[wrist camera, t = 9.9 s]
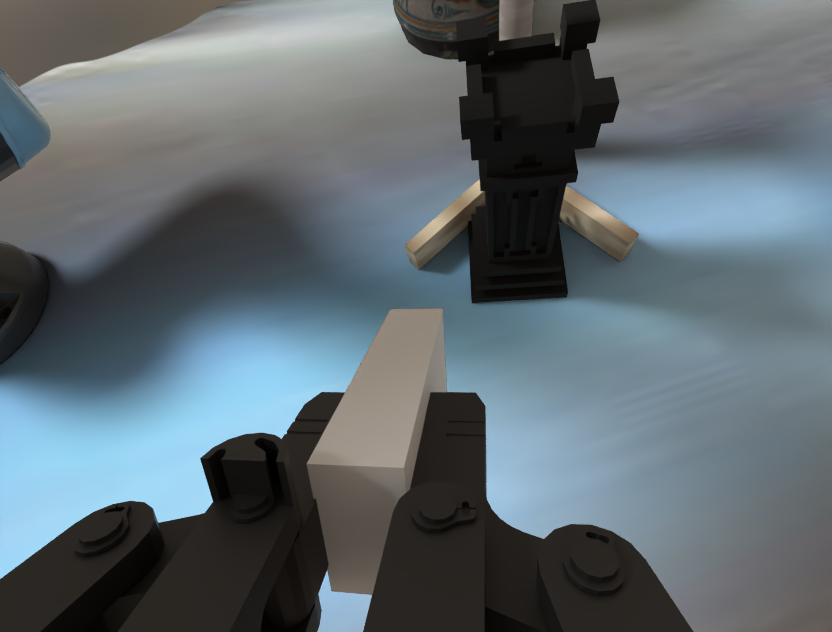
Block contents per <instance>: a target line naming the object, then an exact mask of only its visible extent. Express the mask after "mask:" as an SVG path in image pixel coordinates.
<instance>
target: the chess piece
mask: <svg viewBox="0 0 832 632" xmlns="http://www.w3.org/2000/svg"><path fill="white" fill-rule="evenodd" d="M599 23H600V17H599V13H598V9H597V4H596V0H589V1H583V2H576V3H570V4H563V10H562V18H561V25H560V28H561V37H560V44H559V46H555V38H554V33H549V34H542V35H536V36H529V37H522V38H515V39H508V40H501V41H495V42H494V55H489V56H488V36H487V24H486V17H480V18H473V19H467V20H460V21H456V34H457V50H458V62H461V61H466V74H467V92H468V96H462V97H459V101H460V123H461V134H462V140H465V139H470V144H471V158H472V161H473V160H479V176H480V192H481V191H485V206H477V207H476V214H472V221H468V234H469V255H470V276H471V297H472V303H479V302H495V301H511V300H527V299H543V298H559V297H567V294H568V290H567V283H566V275H565V268H564V261H563V254H562V247H561V240H560V233H559V226H558V221H559V216H560V212H561V207H562V203H563V198H564V193H565V189H566V184H567V183H572V182H576V180H577V175H578V170H577V164H576V158H575V152H574V149H584V148H593V147H595V144H596V141H597V137H598V133H599V130H600V126H601V124H603V123H612V122H613V121H614V118H615V114H616V111H617V108H618V104H619V98H618V94H617V90H616V86H615V81H614V77H608V78H600V79H595V77H594V72H593V67H592V63H591V58H590V53H589V49H586V48H587V44H588V43H595V42H596V37H597V33H598V28H599Z"/></svg>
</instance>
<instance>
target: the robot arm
mask: <svg viewBox="0 0 832 632" xmlns="http://www.w3.org/2000/svg"><path fill="white" fill-rule="evenodd" d="M50 136H51V135H50V129H49V126H48V124H47V122H46V121H45V119H44V118H43V117H42V115H41V114H40V113H39V111H38V110H37V109H36V108H35V106H34V105H33V104H32V103H31V101H30V100H29V99H28V98H27V97H26V95H25V94H24V93H23V92H22V91H21V90H20V88H19V87H18V86H17V85H16V84H15V83H14V81H13V80H12V79H11V78H10V77H9V76H8V75H7V73H6V72H5V71H4V70H3V69H2V68H1V67H0V181H2V180H3V179H5V178H6V177H8V176H9V175H11V174H12V173H14V172H15V171H17V170H19V169H22V168H23V167H25V163H26V162H27V161H29V160H30V159H31V158H33V157H34V156H35V155H36V154H38V153H39V152H40V151H41V150H43V149H44V148H45V147H46V146H47V145H48V143H49V140H50ZM47 293H48V278H47V274H46V271H45V268H44V266H43V265H42V263H41V262H40V261H39V260H38V259H37V258H36V257H34V256H33V255H31V254H29V253H27V252H26V251H24V250H22V249H20V248H18V247H16V246H14V245H12V244H9V243H7V242H2V241H0V363H1V362H2V361H4V360H5V359H6V358H8V357H9V356H10V355H11V354H12V353H13V352H14V351H15V350H16V349H17V348H18V347H19V346H20V345H21V344H22V343H23V342H24V341H25V339H26V338H27V337H28V335H29V334H30V333H31V331H32V330H33V328H34V327H35V325H36V323H37V322H38V320H39V318H40V316H41V313H42V311H43V308H44V306H45V302H46V298H47ZM200 459H201V462H202V466H203V469H204V472H205V476H206V479H207V482H208V486H209V489H210V492H211V496H212V499H213V503H212V504H211V506H210V507H209V508H208V510H207V511H206V512H205V513H203V514H200V515H196V516H191V517H186V518H181V519H176V520H171V521H166V522H161V523H158V521H157V519H156V516H155V513H154V510H153V508H152V507H150V506H149V505H147V504H146V503H144V502H136V501H127V502H122V503H117V504H112V505H110V506H107V507H105V508H102V509H100V510H98V511H95V512H93V513H91V514H90V515H88V516H86V517H85V518H83V519H82V520H80V521H78V522H77V523H75V524H74V525H72V526H71V527H70V528H68V529H67V530H66V531H64V532H63V533H62V534H60V535H59V536H58V537H56V538H55V539H54V540H52V541H51V542H50V543H48V544H47V545H45V546H44V547H43V548H41V549H40V550H39V551H37V552H36V553H35V554H33V555H32V556H31V557H29V558H28V559H27V560H25V561H24V562H23V563H21V564H20V565H19V566H17V567H16V568H15V569H13V570H12V571H11V572H9V573H8V574H7V575H5V576H4V577H3V578H1V579H0V632H317V631H318V628H319V625H320V618H321V611H322V610H321V605H320V601H319V596H318V593H319V590H320V588H321V585H322V582H323V579H324V577H325V574H326V571H328V576H329V581H330V586H331V591H335V592H346V593H358V594H370V595H372V598H371V602H370V606H369V610H368V614H367V619H366V623H365V627H364V631H363V632H693V631H692V629H691V628H690V626H689V625H688V623H687V622H686V620H685V619H684V617H683V616H682V614H681V613H680V611H679V609H678V608H677V606H676V605H675V603H674V602H673V600H672V599H671V597H670V596H669V594H668V593H667V591H666V590H665V588H664V587H663V585H662V584H661V582H660V581H659V579H658V578H657V576H656V575H655V573H654V572H653V570H652V569H651V567H650V566H649V564H648V563H647V561H646V560H645V558H644V557H643V556H642V555H641V554H640V553H639V552H638V551H637V550H636V549H635V548H634V546H633V545H632V544H631V543H629V542H628V541H626V540H625V539H623V538H621V537H620V536H618V535H617V534H615V533H613V532H612V531H609V530H606V529H603V528H599V527H596V526H593V525H579V524H570V525H567V526H564V527H561V528H558V529H555V530H553V531H552V532H551V533H550V534H549V535H548V536H547V537H546V538H545V539H542V538H539V537H536V536H533V535H530V534H527V533H524V532H522V531H520V530H518V529H515V528H513V527H511V526H510V525H508V524H507V523H505V522H504V521H503V520H501V519H500V518H499V517H498V516H497V515H496V514H495V513H494V511H493V510H492V509H491V507H490V505H489V503H488V501H487V497H486V416H485V405H484V403H483V402H482V401H481V399H480V398H479V397H478V395H477V394H476V393H462V392H447V381H446V362H445V343H444V324H443V308H432V309H390V311H389V312H388V314H387V316H386V318H385V320H384V322H383V324H382V325H381V327H380V329H379V331H378V333H377V335H376V337H375V338H374V340H373V342H372V344H371V346H370V348H369V349H368V351H367V353H366V355H365V357H364V359H363V361H362V362H361V364H360V366H359V368H358V370H357V372H356V373H355V375H354V377H353V379H352V381H351V383H350V385H349V386H348V388H347V390H346V392H345V393H341V392H321V393H320V394H318V395H317V396H316V397H314V398H313V399H312V400H310V401H309V402H307V403H306V404H305V405H304V406H303V408H302V409H301V411H300V412H299V414H298V415H297V417H296V418H295V422H293V423H292V424H291V426H290V427H289V429H288V430H287V434H285V435H284V436H283V438H282V439H280V438H279V437H277V436H276V435H272V434H266V433H254V434H245V435H242V436H238V437H235V438H232V439H229V440H227V441H225V442H223V443H221V444H219V445H217V446H215V447H213V448H212V449H211V450H210V451H209V452H207V453H206V454H205V455H204V456H203V457H202V458H200Z"/></svg>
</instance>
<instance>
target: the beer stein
mask: <svg viewBox="0 0 832 632" xmlns="http://www.w3.org/2000/svg"><path fill="white" fill-rule="evenodd" d="M393 5H394V10H395V14H396V16H397V19H398V21H399V23H400V24H401V27H402V30H403V32H404V34H405V36H406V38H407V40H408V42H409V43H410V44H411V45H413V46H414V47H415V48H417V49H418V50H420V51H421V52H422V53H424V54H427V55H431V56H435V57H439V58H443V59H458V50H457V34H456V21H460V20H467V19H473V18H480V17H486V24H487V36H488V52H490V51H492V50H494V42H495V41H499V8H500V0H393Z"/></svg>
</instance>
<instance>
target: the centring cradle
mask: <svg viewBox="0 0 832 632" xmlns="http://www.w3.org/2000/svg"><path fill="white" fill-rule="evenodd" d="M533 9H534V0H500V8H499V41H501V40H508V39H515V38H522V37H529V36H531V35H532V22H533ZM477 206H485V191H481V192H480V179H479V180H478V181H477V182H476V183H475V184H474V185H472V186H471V187H470V188H469V189H468V190H467V191H466V192H464V193H463V194H462V195H461V196H460V197H459V198H458V199H456V200H455V201H454V202H453V203H452V204H451V205H450V206H449V207H447V208H446V209H445V210H444V211H443V212H442V213H441V214H439V215H438V216H437V217H436V218H435V219H434V220H433V221H431V222H430V223H429V224H428V225H427V226H426V227H425V228H423V229H422V230H421V231H420V232H419V233H418V234H417V235H415V236H414V237H413V238H412V239H411V240H410V241H409V242H407V243H406V244H405V248H406V251H407V254H408V257H409V260H410V262H411V263H412V264H413V265H414V266H415V267H416V268H417V269H420V268H421V267H423V266H424V265H425V264H426V263H427V262H428V261H429V260H430V259H432V258H433V257H434V256H435V255H436V254H437V253H438V252H439V251H440V250H442V249H443V248H444V247H445V246H446V245H447V244H448V243H449V242H451V241H452V240H453V239H454V238H455V237H456V236H457V235H458V234H459V233H461V232H462V231H463V230H464V229H465V228H466V227H467V226H468V221H472V214H476V207H477ZM559 220H561V221H562V222H564V223H565V224H567V225H568V226H569V227H571V228H572V229H574V230H575V231H577V232H578V233H579V234H581V235H582V236H584V237H585V238H587V239H588V240H589V241H591V242H592V243H594V244H595V245H597V246H598V247H599V248H601V249H602V250H604V251H605V252H607V253H608V254H609V255H611V256H612V257H614V258H615V259H617V260H618V261H619V262H620V261H621V260H622V259H623V258H624V257H626V256H627V255H628V254H629V252H630V250H631V248H632V246H633V245H634V243H635V241H636V239H637V237H638V235H639V233H637V232H636V231H634V230H633V229H631V228H630V227H628V226H627V225H625V224H624V223H622V222H621V221H619V220H618V219H616V218H615V217H613V216H611V215H610V214H608V213H607V212H605V211H604V210H602V209H601V208H599V207H598V206H596V205H595V204H593V203H592V202H590V201H589V200H587V199H586V198H584V197H583V196H581V195H580V194H578V193H577V192H575V191H573V190H572V189H570V188H569V187H567V186H566V189H565V193H564V198H563V203H562V207H561V212H560V216H559Z"/></svg>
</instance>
